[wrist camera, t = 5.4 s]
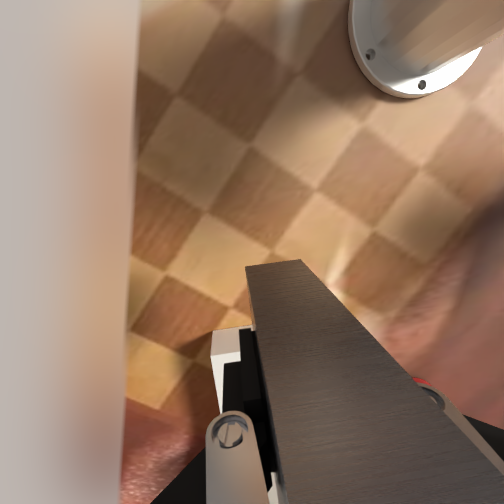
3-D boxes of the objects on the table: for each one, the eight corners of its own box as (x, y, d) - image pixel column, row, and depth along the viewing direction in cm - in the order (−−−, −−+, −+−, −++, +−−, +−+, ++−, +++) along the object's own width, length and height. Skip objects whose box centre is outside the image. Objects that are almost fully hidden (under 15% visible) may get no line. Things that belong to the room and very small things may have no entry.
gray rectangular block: (244, 266, 14) (312, 631, 3) (300, 259, 14) (596, 574, 3) (257, 363, 16) (334, 864, 4) (307, 355, 16) (516, 818, 4)
